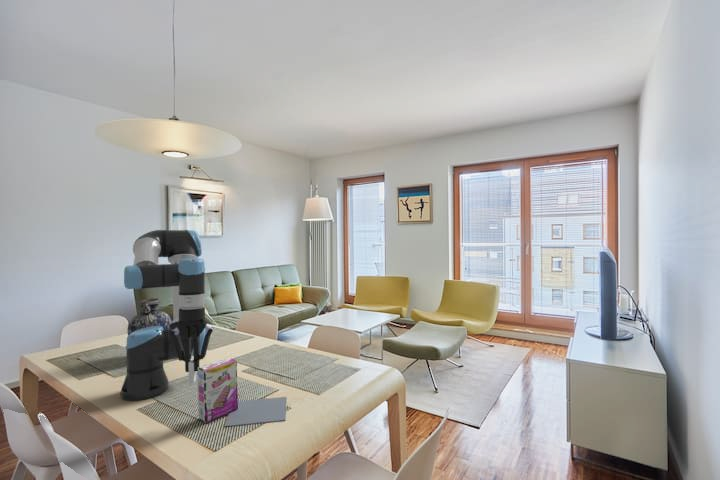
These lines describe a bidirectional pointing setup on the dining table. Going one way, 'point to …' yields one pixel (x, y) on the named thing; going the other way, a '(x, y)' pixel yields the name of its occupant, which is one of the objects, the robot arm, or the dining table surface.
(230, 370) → the candy bar box
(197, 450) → the dining table surface
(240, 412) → the mat
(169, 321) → the decorative vase
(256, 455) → the dining table surface
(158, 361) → the robot arm
